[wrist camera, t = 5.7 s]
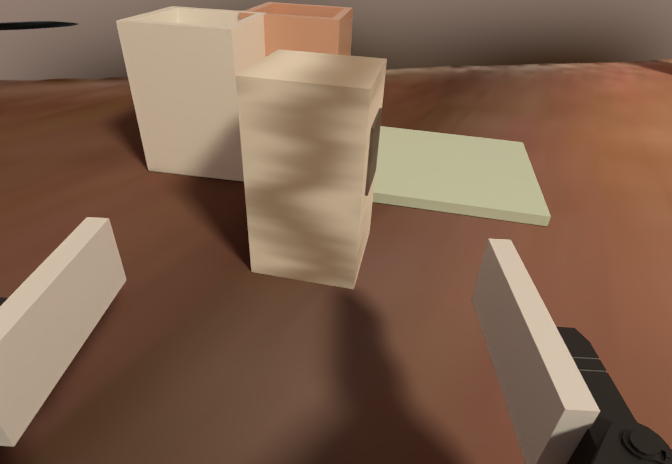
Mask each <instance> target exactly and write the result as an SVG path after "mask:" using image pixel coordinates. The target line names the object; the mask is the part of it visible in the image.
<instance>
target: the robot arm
mask: <svg viewBox="0 0 672 464" xmlns="http://www.w3.org/2000/svg"><path fill="white" fill-rule="evenodd" d="M125 282H126V276H125V273H124V269H123V266H122V262H121V259H120V255H119V252H118V248H117V245H116V241H115V238H114V234H113V231H112V227H111V224H110V220H109V218H93V217H87V218H86V219H85V220H84V221H83V222H82V223H81V224H80V225H79V226H78V227H77V228H76V229H75V230H74V231H73V232H72V233H71V234H70V235H69V236H68V237H67V238H66V239H65V240H64V241H63V242H62V243H61V244H60V245H59V246H58V247H57V248H56V250H55V251H54V252H53V253H52V254H51V255H50V256H49V257H48V258H47V259H46V260H45V261H44V262H43V263H42V264H41V265H40V266H39V267H38V268H37V269H36V270H35V271H34V272H33V273H32V274H31V275H30V276H29V277H28V278H27V279H26V280H25V281H24V282H23V283H22V284H21V286H20V287H19V288H18V289H17V290H16V291H15V292H14V293H13V294H12V295H11V296H10V297H9V298H0V446H13V447H14V446H15V445H16V443H17V442H18V440H19V439H20V437H21V436H22V434H23V433H24V431H25V430H26V428H27V427H28V425H29V424H30V422H31V421H32V419H33V418H34V416H35V415H36V413H37V412H38V410H39V409H40V407H41V406H42V405H43V403H44V402H45V400H46V399H47V397H48V396H49V394H50V393H51V391H52V390H53V388H54V387H55V385H56V384H57V382H58V381H59V379H60V378H61V376H62V375H63V373H64V372H65V370H66V369H67V367H68V366H69V364H70V363H71V362H72V360H73V359H74V357H75V356H76V354H77V353H78V351H79V350H80V348H81V347H82V345H83V344H84V342H85V341H86V339H87V338H88V336H89V335H90V333H91V332H92V330H93V329H94V327H95V326H96V324H97V323H98V322H99V320H100V319H101V317H102V316H103V314H104V313H105V311H106V310H107V308H108V307H109V305H110V304H111V302H112V301H113V299H114V298H115V296H116V295H117V293H118V292H119V290H120V289H121V287H122V286H123V284H124V283H125ZM472 302H473V305H474V308H475V311H476V314H477V317H478V320H479V323H480V326H481V329H482V332H483V335H484V338H485V341H486V344H487V347H488V350H489V354H490V357H491V360H492V363H493V366H494V369H495V372H496V375H497V378H498V381H499V384H500V387H501V390H502V393H503V396H504V399H505V402H506V406H507V409H508V412H509V415H510V418H511V421H512V424H513V427H514V430H515V433H516V436H517V439H518V442H519V445H520V448H521V451H522V454H523V457H524V461H525V464H672V450H671V449H670V447H669V446H668V445H667V444H666V442H665V441H664V440H663V439H662V438H661V437H660V436H659V435H658V434H656V433H655V432H654V431H652V430H651V429H649V428H648V427H646V426H644V425H641V424H639V423H637V421H636V420H635V418H634V417H633V415H632V413H631V412H630V410H629V408H628V407H627V405H626V403H625V401H624V400H623V398H622V396H621V395H620V393H619V391H618V389H617V388H616V386H615V384H614V383H613V381H612V379H611V378H610V376H609V374H608V373H606V369H605V367H604V366H603V364H602V362H601V361H600V360H599V359H598V358H599V357H598V355H597V354H596V352H595V350H594V349H593V347H592V345H591V343H590V342H589V341H588V340H587V339H586V338H585V337H584V336H583V335H582V334H581V333H579V332H578V331H577V330H576V329H575V328H566V327H556V326H555V324H554V322H553V320H552V318H551V316H550V314H549V312H548V310H547V308H546V306H545V304H544V303H543V301H542V299H541V297H540V295H539V293H538V291H537V289H536V287H535V285H534V283H533V282H532V280H531V278H530V276H529V274H528V272H527V270H526V268H525V266H524V264H523V262H522V261H521V259H520V257H519V255H518V253H517V251H516V249H515V247H514V245H513V243H512V241H511V240H505V239H488V242H487V245H486V249H485V252H484V256H483V260H482V263H481V267H480V270H479V274H478V278H477V281H476V285H475V288H474V292H473V295H472Z"/></svg>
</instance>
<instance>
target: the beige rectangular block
mask: <svg viewBox="0 0 672 464" xmlns="http://www.w3.org/2000/svg"><path fill="white" fill-rule="evenodd" d="M386 61H387V59H381V58H370V57H359V56H348V55H337V54H326V53H315V52H304V51H293V50H281V49H278V50H276V51H275V52H273V53H271V54H270V55H268V56H267V57H265V58H263V59H262V60H260V61H258V62H257V63H255V64H253V65H252V66H250V67H248V68H247V69H245V70H244V71H242V72H240V73H239V74H237V75H235V77H236V90H237V102H238V114H239V126H240V139H241V151H242V163H243V175H244V187H245V200H246V212H247V224H248V236H249V248H250V261H251V272H256V273H261V274H267V275H273V276H279V277H285V278H291V279H296V280H302V281H308V282H314V283H320V284H326V285H331V286H337V287H343V288H349V289H354V286H355V283H356V279H357V276H358V272H359V268H360V265H361V261H362V257H363V254H364V250H365V246H366V243H367V239H368V235H369V232H370V222H371V212H372V202H373V192H374V182H375V172H376V165H377V155H378V145H379V135H380V126H381V116H382V102H383V92H384V82H385V72H386Z"/></svg>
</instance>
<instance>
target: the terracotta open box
mask: <svg viewBox="0 0 672 464" xmlns="http://www.w3.org/2000/svg"><path fill="white" fill-rule="evenodd" d="M245 11H247V12H262V13H266V14H264V37H265V57H267V56H268V55H270V54H271V53H273V52H275V51H276V50H278V49H281V50H293V51H304V52H315V53H326V54H337V55H348V56H350V52H351V34H352V16H353V15H352V14H353V8H350V7H335V6H320V5H304V4H290V3H275V2H274V3H273V2H267V3H264V4H262V5H259V6H256V7H253V8H251V9H248V10H245ZM253 14H256V13H241V12H239V20H242V19H244V18H246V17H249V16H251V15H253Z"/></svg>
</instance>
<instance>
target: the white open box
mask: <svg viewBox="0 0 672 464" xmlns="http://www.w3.org/2000/svg"><path fill="white" fill-rule="evenodd" d="M239 12H241V13H256V14H253V15H251V16H249V17H246V18H244V19H242V20H239ZM264 14H266V13H262V12H247V11H233V10H218V9H203V8H189V7H174V6H171V7H167V8H163V9H160V10H156V11H152V12H148V13H144V14H140V15H136V16H133V17H129V18H125V19H121V20H117V21H116V23H117V28H118V32H119V37H120V42H121V47H122V51H123V56H124V61H125V65H126V70H127V74H128V79H129V84H130V88H131V93H132V98H133V102H134V107H135V112H136V116H137V121H138V125H139V130H140V135H141V139H142V144H143V149H144V153H145V158H146V163H147V167H148V171H155V172H164V173H173V174H182V175H191V176H199V177H208V178H217V179H226V180H235V181H243V182H244V175H243V163H242V151H241V139H240V126H239V114H238V102H237V90H236V77H235V75H237V74H239V73H240V72H242V71H244V70H245V69H247V68H248V67H250V66H252V65H253V64H255V63H257V62H258V61H260V60H262V59H263V58H265V37H264Z"/></svg>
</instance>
